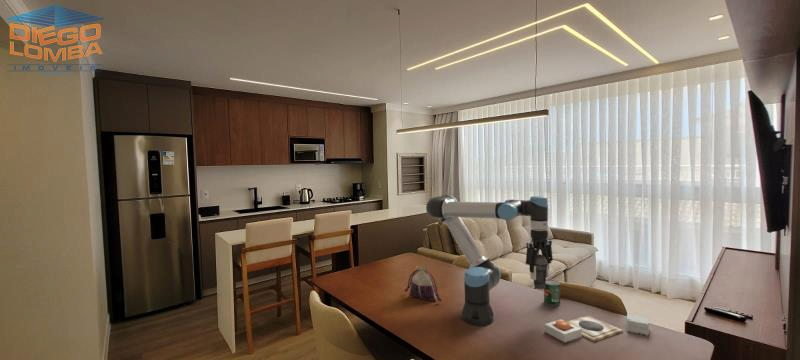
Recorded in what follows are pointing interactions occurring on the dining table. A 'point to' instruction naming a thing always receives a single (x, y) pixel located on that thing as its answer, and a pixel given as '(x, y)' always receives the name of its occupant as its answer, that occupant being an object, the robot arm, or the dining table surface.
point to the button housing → (563, 332)
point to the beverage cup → (540, 271)
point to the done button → (563, 325)
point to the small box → (637, 324)
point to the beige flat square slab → (594, 328)
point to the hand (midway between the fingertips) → (539, 277)
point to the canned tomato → (552, 293)
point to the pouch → (422, 285)
